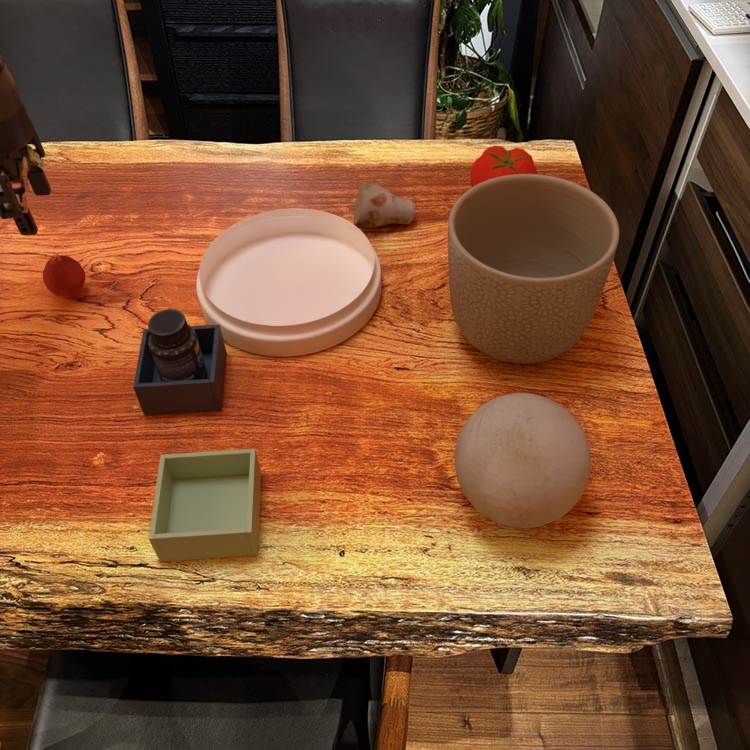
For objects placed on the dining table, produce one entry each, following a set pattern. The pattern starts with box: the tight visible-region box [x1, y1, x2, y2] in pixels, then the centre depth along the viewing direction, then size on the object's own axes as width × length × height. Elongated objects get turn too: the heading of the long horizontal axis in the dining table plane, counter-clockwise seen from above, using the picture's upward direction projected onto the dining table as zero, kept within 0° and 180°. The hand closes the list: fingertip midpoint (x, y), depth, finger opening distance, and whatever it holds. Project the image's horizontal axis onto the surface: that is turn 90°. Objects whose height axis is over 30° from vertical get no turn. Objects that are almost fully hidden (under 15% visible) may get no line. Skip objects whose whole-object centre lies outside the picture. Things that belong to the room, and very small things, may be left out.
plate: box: [195, 207, 382, 358], centre depth 118 cm, size 27×27×6 cm
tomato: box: [470, 145, 539, 188], centre depth 131 cm, size 11×11×8 cm
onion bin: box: [148, 448, 262, 563], centre depth 93 cm, size 11×11×5 cm
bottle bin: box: [132, 324, 228, 416], centre depth 106 cm, size 10×10×6 cm
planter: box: [447, 173, 620, 365], centre depth 106 cm, size 21×21×19 cm
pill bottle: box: [147, 308, 207, 382], centre depth 104 cm, size 6×6×11 cm
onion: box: [42, 253, 87, 298], centre depth 118 cm, size 6×6×8 cm
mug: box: [353, 181, 416, 229], centre depth 128 cm, size 8×10×10 cm
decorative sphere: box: [454, 392, 592, 529], centre depth 90 cm, size 15×15×15 cm
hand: (37, 213), depth 109 cm, fingers open, 8 cm apart
